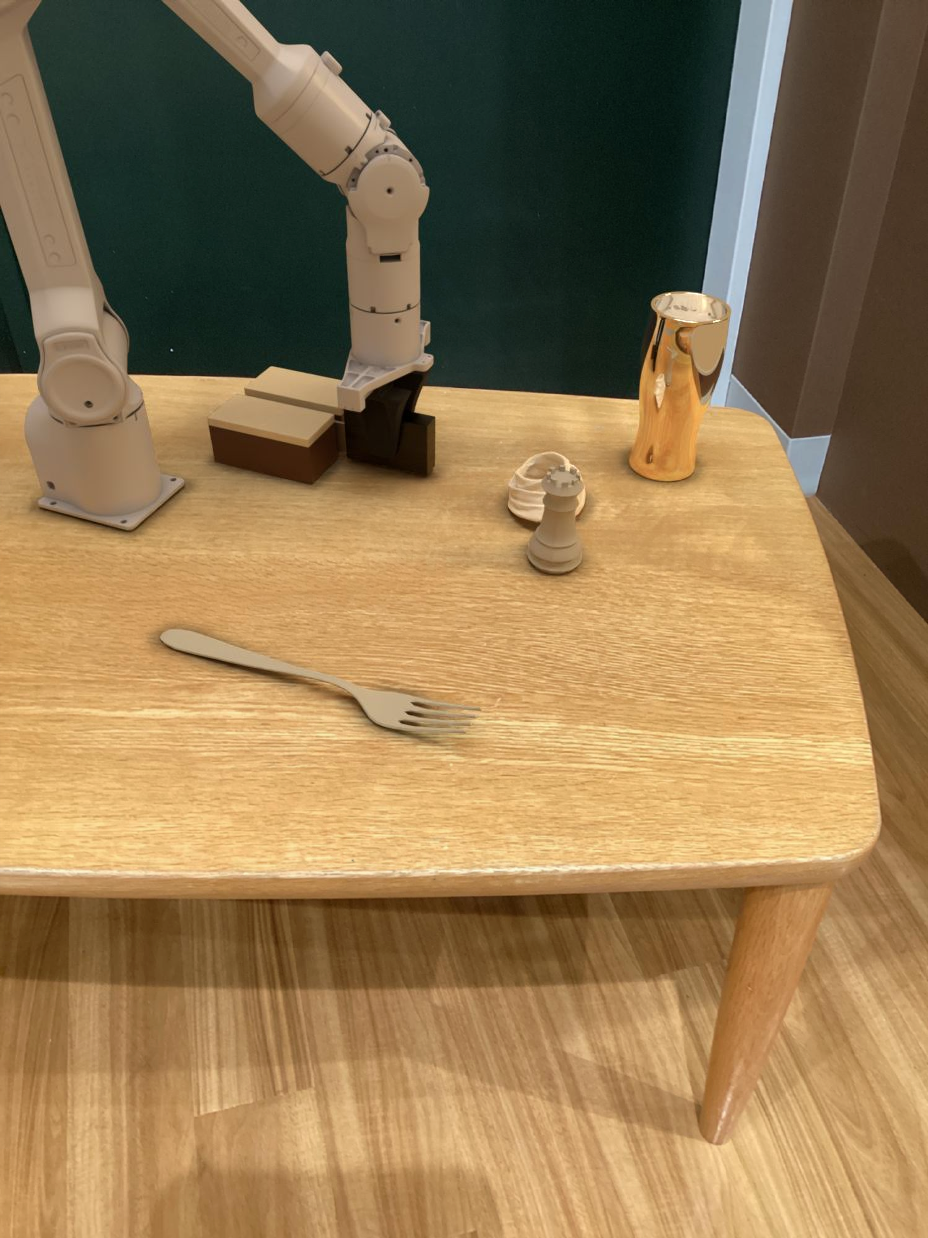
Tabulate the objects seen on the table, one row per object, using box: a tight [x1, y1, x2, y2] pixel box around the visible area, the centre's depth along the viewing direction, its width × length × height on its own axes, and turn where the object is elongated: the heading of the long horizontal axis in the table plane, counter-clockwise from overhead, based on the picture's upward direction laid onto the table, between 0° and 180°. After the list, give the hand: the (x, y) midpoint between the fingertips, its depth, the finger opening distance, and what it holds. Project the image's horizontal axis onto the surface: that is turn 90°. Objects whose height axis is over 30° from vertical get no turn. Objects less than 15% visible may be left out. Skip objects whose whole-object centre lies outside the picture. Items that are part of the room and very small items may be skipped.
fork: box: [159, 628, 484, 735], centre depth 62 cm, size 3×24×2 cm, turn 67°
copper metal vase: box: [628, 290, 732, 482], centre depth 81 cm, size 7×7×15 cm
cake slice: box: [243, 365, 344, 422], centre depth 88 cm, size 10×5×4 cm, turn 69°
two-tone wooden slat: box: [335, 409, 436, 477], centre depth 83 cm, size 17×2×5 cm, turn 69°
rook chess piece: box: [526, 465, 585, 575], centre depth 71 cm, size 4×4×8 cm
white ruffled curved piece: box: [507, 451, 587, 523], centre depth 78 cm, size 8×7×5 cm
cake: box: [206, 393, 338, 485], centre depth 83 cm, size 10×5×4 cm, turn 69°
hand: (389, 448), depth 83 cm, fingers closed on two-tone wooden slat, 2 cm apart
